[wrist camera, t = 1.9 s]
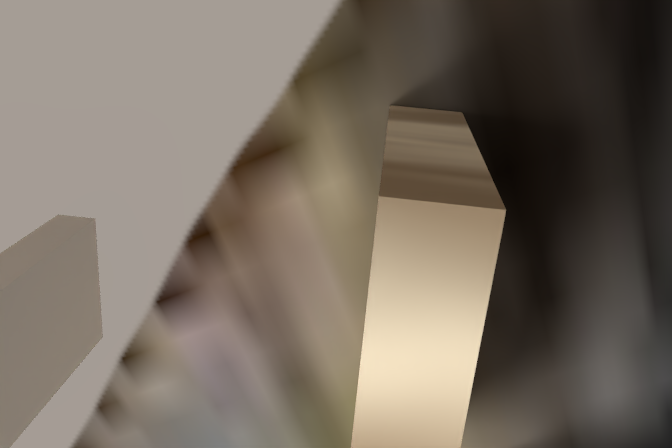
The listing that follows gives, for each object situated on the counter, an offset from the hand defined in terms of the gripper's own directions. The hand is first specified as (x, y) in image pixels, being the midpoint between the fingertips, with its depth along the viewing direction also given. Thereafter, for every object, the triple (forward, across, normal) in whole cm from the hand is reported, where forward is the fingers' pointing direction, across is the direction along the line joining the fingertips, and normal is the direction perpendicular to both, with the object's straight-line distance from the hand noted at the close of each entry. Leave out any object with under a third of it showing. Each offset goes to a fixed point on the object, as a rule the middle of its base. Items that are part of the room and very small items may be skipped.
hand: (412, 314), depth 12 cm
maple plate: (+11, 0, -4) cm, 12 cm away
